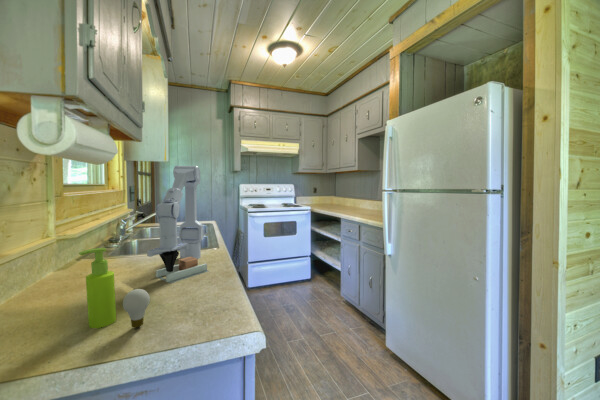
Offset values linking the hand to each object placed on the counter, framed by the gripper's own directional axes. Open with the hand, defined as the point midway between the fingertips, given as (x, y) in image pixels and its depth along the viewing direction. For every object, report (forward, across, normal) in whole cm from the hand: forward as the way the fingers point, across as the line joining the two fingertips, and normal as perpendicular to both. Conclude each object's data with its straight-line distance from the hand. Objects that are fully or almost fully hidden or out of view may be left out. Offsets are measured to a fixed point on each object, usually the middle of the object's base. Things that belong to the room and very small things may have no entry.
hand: (169, 271), depth 99 cm
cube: (+2, +8, 0) cm, 8 cm away
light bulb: (+4, -21, -24) cm, 32 cm away
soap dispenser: (+4, -26, -14) cm, 30 cm away
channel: (+4, +5, 0) cm, 6 cm away
